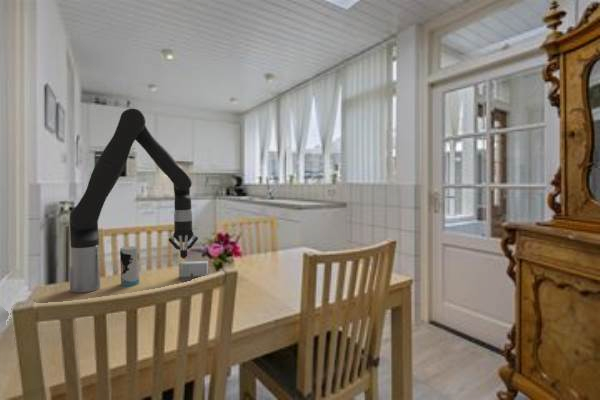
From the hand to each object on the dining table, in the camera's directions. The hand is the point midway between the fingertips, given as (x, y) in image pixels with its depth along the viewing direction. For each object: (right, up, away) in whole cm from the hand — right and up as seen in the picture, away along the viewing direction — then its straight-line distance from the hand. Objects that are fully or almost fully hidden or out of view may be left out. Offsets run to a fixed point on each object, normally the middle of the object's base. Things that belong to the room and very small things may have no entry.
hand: (183, 258), depth 148 cm
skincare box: (-2, -5, -1) cm, 5 cm away
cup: (-18, -9, -11) cm, 23 cm away
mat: (+5, -8, +2) cm, 10 cm away
